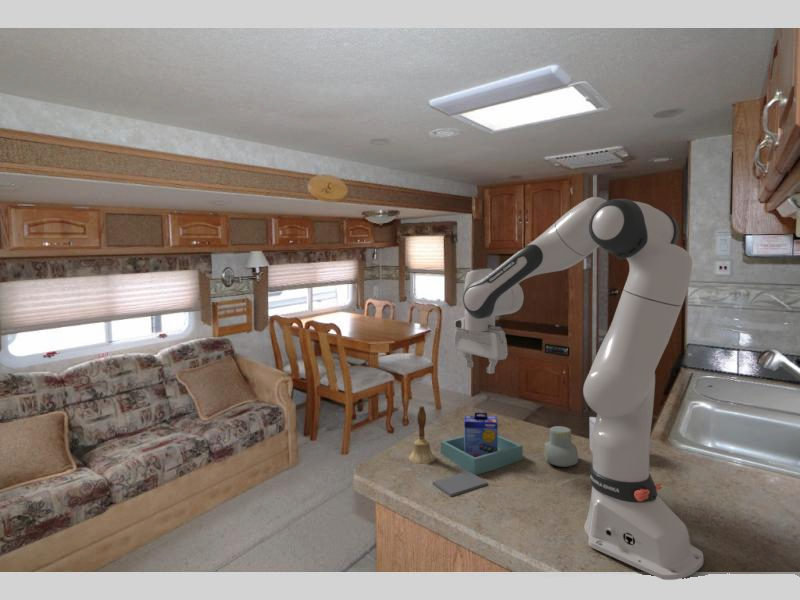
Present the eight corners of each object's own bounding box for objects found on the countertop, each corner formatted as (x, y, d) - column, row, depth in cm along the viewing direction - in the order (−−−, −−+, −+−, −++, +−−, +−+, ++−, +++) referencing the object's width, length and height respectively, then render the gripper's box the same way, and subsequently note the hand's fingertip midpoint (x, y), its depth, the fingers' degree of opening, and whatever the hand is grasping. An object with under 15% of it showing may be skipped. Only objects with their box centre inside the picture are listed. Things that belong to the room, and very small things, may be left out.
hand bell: (414, 452, 143) (413, 401, 142) (439, 456, 139) (438, 404, 138) (403, 462, 135) (402, 409, 134) (430, 467, 132) (429, 412, 131)
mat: (487, 484, 120) (487, 482, 120) (450, 496, 114) (450, 494, 114) (468, 473, 127) (468, 471, 127) (432, 484, 121) (432, 481, 121)
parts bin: (522, 460, 134) (522, 445, 134) (474, 475, 125) (474, 459, 125) (486, 443, 148) (486, 429, 148) (440, 455, 139) (440, 441, 139)
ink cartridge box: (464, 461, 135) (463, 413, 134) (464, 454, 140) (463, 407, 139) (498, 462, 133) (498, 414, 133) (497, 455, 139) (496, 408, 138)
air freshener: (579, 472, 126) (579, 436, 126) (548, 470, 128) (548, 435, 127) (571, 456, 137) (571, 423, 136) (543, 454, 138) (542, 422, 138)
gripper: (512, 326, 127) (512, 375, 128) (466, 319, 145) (467, 363, 146) (495, 328, 124) (495, 378, 125) (450, 321, 141) (450, 365, 142)
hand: (479, 370), depth 135 cm, fingers open, 8 cm apart
